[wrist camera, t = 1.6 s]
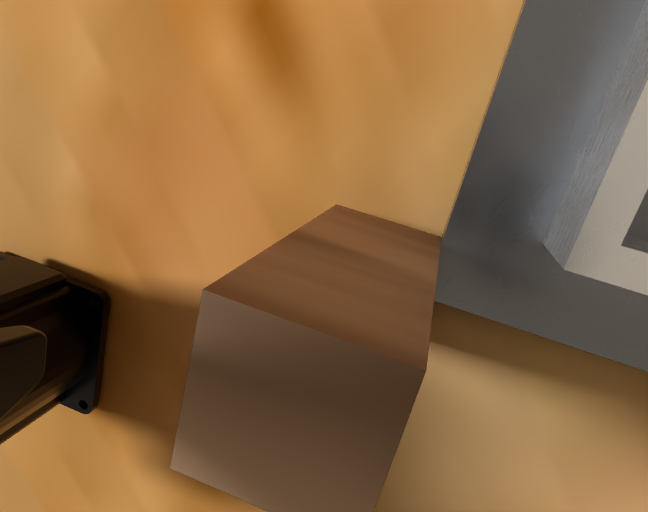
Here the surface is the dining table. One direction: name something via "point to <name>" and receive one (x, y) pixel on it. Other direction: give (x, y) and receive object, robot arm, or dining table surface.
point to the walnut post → (310, 365)
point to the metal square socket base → (560, 184)
